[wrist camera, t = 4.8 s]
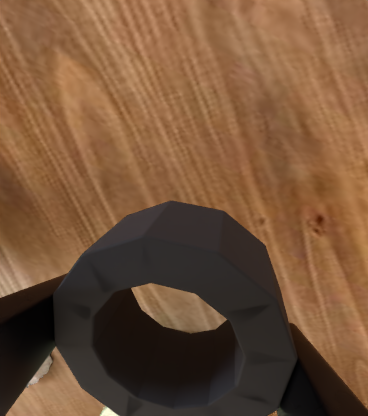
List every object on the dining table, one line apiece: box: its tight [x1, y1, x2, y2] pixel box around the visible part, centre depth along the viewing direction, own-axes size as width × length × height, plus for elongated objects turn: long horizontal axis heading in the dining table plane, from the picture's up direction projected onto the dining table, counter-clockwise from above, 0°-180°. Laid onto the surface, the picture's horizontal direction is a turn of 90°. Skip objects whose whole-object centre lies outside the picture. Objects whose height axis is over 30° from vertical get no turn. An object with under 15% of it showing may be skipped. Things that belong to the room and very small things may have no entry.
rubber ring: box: [53, 201, 298, 416], centre depth 9 cm, size 7×7×3 cm
